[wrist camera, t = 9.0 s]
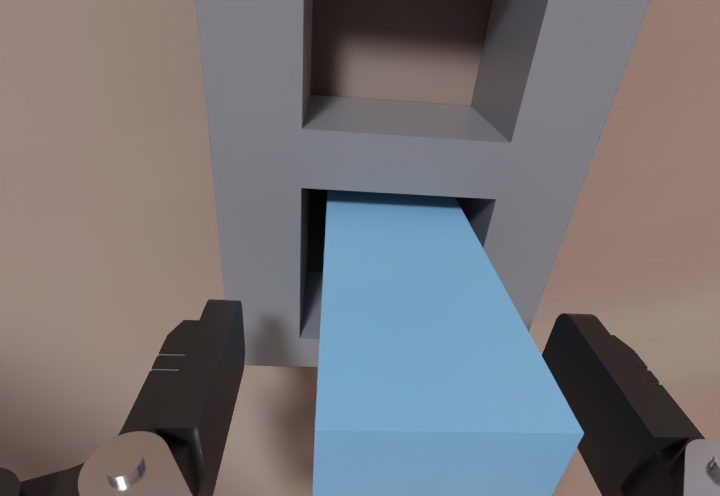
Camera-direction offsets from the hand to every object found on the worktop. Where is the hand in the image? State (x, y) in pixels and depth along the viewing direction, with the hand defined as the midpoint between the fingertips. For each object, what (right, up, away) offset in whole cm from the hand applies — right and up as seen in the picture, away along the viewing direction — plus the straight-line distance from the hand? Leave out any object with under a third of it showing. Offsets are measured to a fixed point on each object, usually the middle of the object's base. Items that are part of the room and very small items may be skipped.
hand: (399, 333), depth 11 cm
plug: (0, +3, +6) cm, 7 cm away
